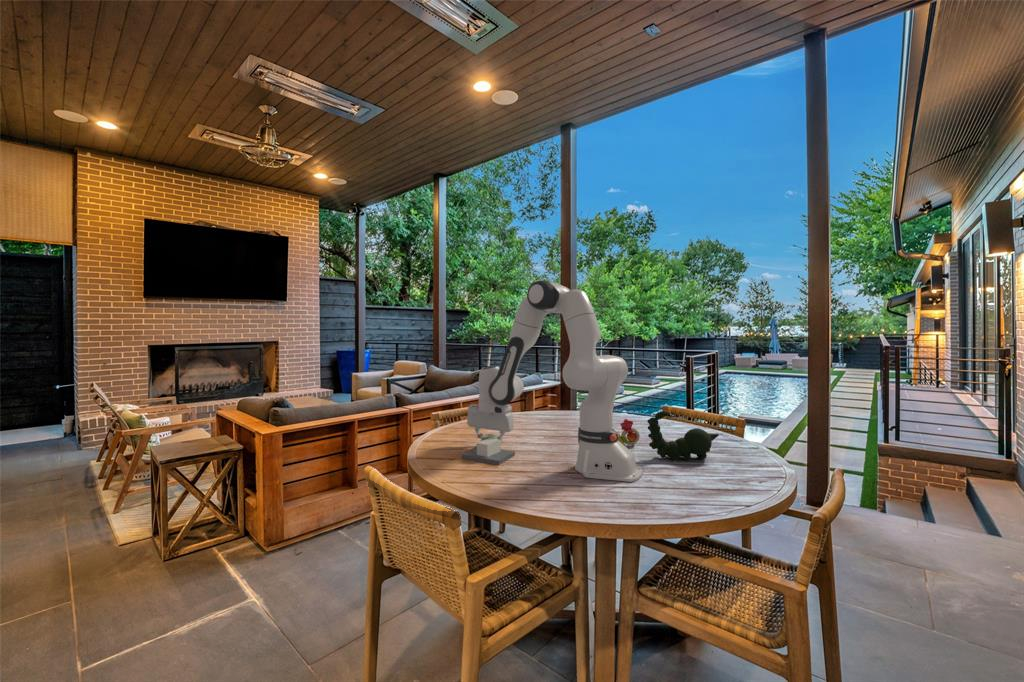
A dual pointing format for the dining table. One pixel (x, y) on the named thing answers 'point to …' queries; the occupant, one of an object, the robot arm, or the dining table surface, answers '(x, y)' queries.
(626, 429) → the bird rattle
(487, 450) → the cream brick
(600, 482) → the dining table surface
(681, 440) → the toy figurine
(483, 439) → the sage brick
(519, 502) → the dining table surface
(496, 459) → the base plate
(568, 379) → the robot arm
